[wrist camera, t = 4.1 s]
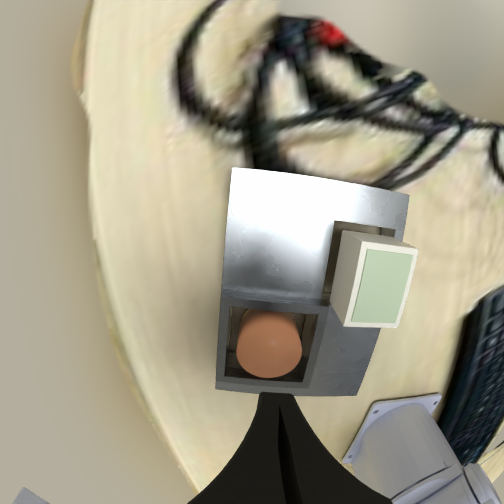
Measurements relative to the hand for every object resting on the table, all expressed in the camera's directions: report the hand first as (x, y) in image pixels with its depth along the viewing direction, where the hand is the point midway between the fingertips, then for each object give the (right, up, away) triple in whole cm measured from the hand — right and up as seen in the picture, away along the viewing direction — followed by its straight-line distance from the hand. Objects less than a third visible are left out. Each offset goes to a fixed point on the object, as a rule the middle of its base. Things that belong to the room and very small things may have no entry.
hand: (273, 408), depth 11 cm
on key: (+5, +6, +4) cm, 9 cm away
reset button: (0, +2, +7) cm, 7 cm away
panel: (+2, +4, +7) cm, 8 cm away
